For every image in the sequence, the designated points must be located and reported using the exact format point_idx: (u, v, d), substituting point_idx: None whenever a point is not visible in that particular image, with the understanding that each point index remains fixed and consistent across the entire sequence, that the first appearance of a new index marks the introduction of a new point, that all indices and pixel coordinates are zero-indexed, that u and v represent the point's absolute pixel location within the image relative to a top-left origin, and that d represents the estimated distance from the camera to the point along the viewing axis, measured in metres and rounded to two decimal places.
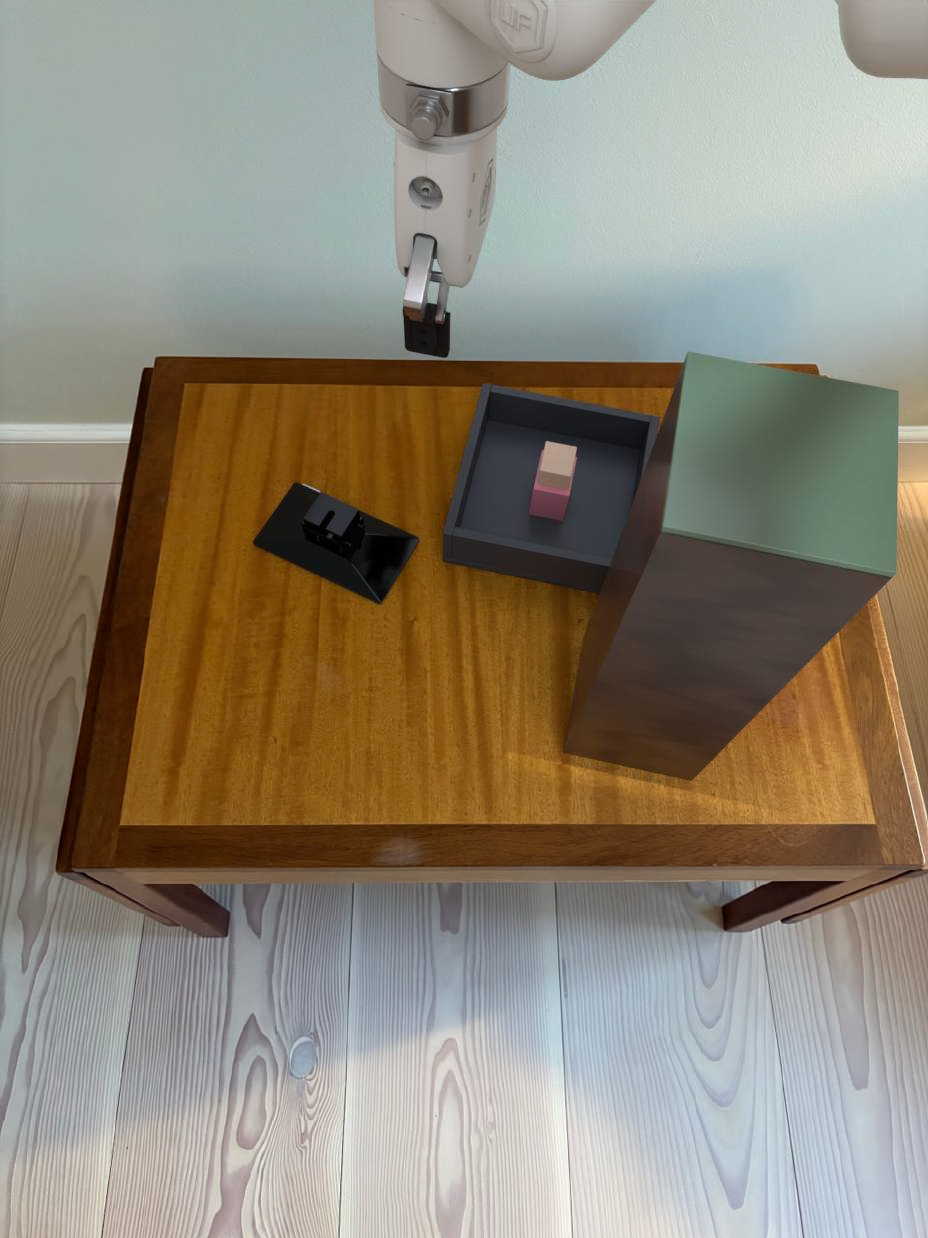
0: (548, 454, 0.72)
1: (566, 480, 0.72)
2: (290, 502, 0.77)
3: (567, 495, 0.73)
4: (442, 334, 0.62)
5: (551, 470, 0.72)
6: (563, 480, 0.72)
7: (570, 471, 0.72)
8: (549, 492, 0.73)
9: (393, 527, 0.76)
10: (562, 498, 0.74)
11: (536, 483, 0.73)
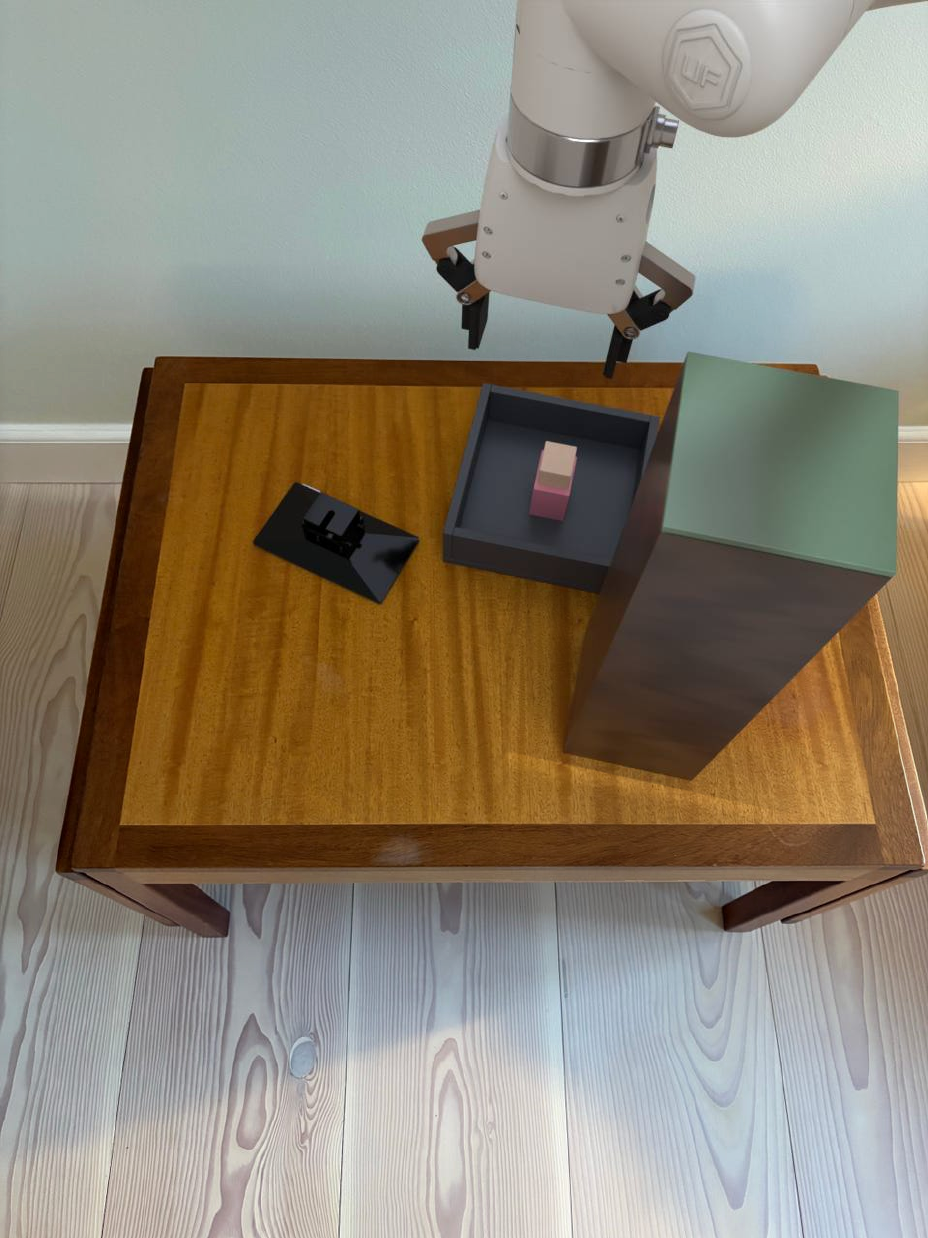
0: (548, 454, 0.72)
1: (566, 480, 0.72)
2: (290, 502, 0.77)
3: (567, 495, 0.73)
4: None
5: (551, 470, 0.72)
6: (563, 480, 0.72)
7: (570, 471, 0.72)
8: (549, 492, 0.73)
9: (393, 527, 0.76)
10: (562, 498, 0.74)
11: (536, 483, 0.73)
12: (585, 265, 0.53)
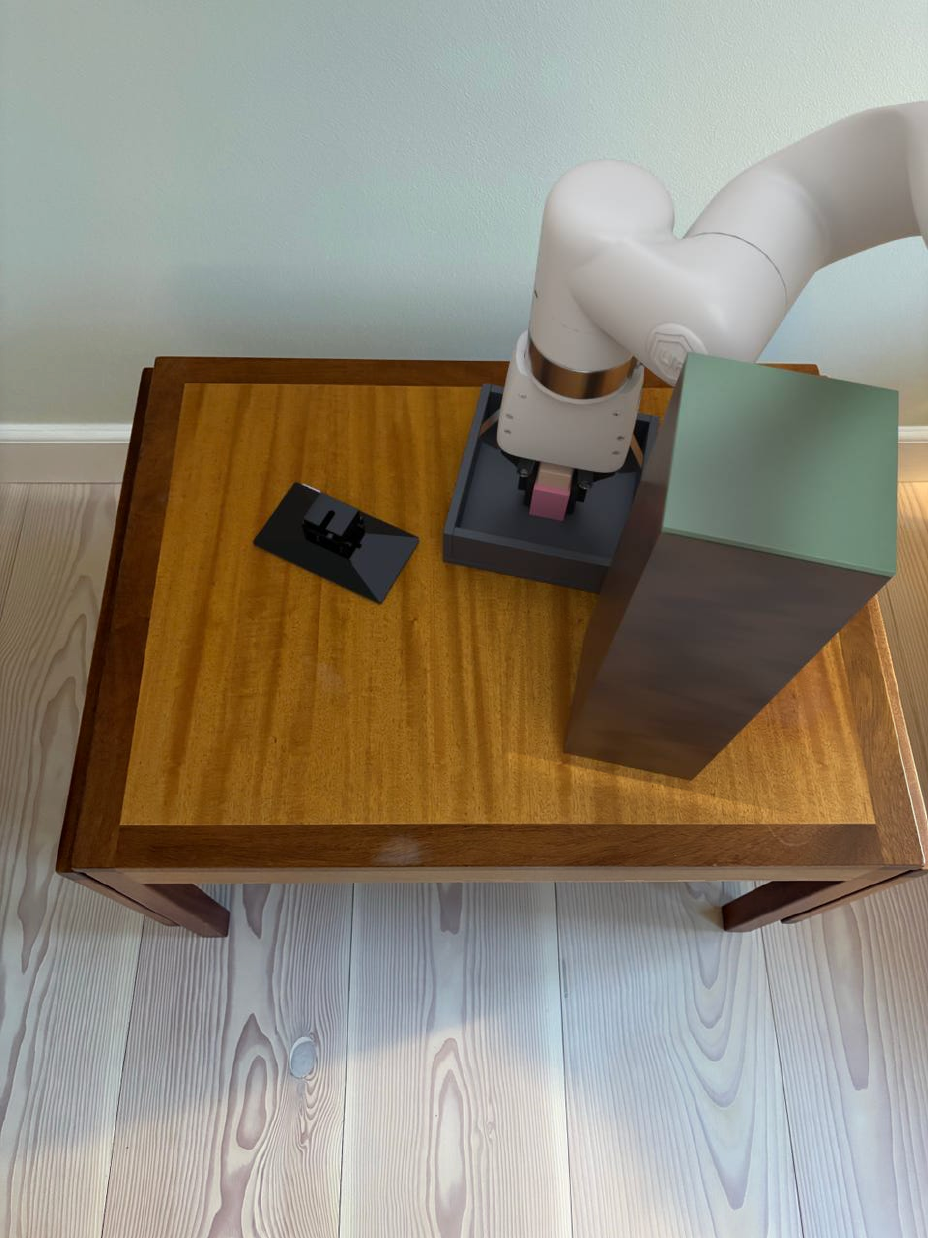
0: None
1: (566, 480, 0.72)
2: (290, 502, 0.77)
3: (567, 495, 0.73)
4: None
5: (551, 470, 0.72)
6: (563, 480, 0.72)
7: (570, 471, 0.72)
8: (549, 492, 0.73)
9: (393, 527, 0.76)
10: (562, 498, 0.74)
11: (536, 483, 0.73)
12: (588, 442, 0.66)
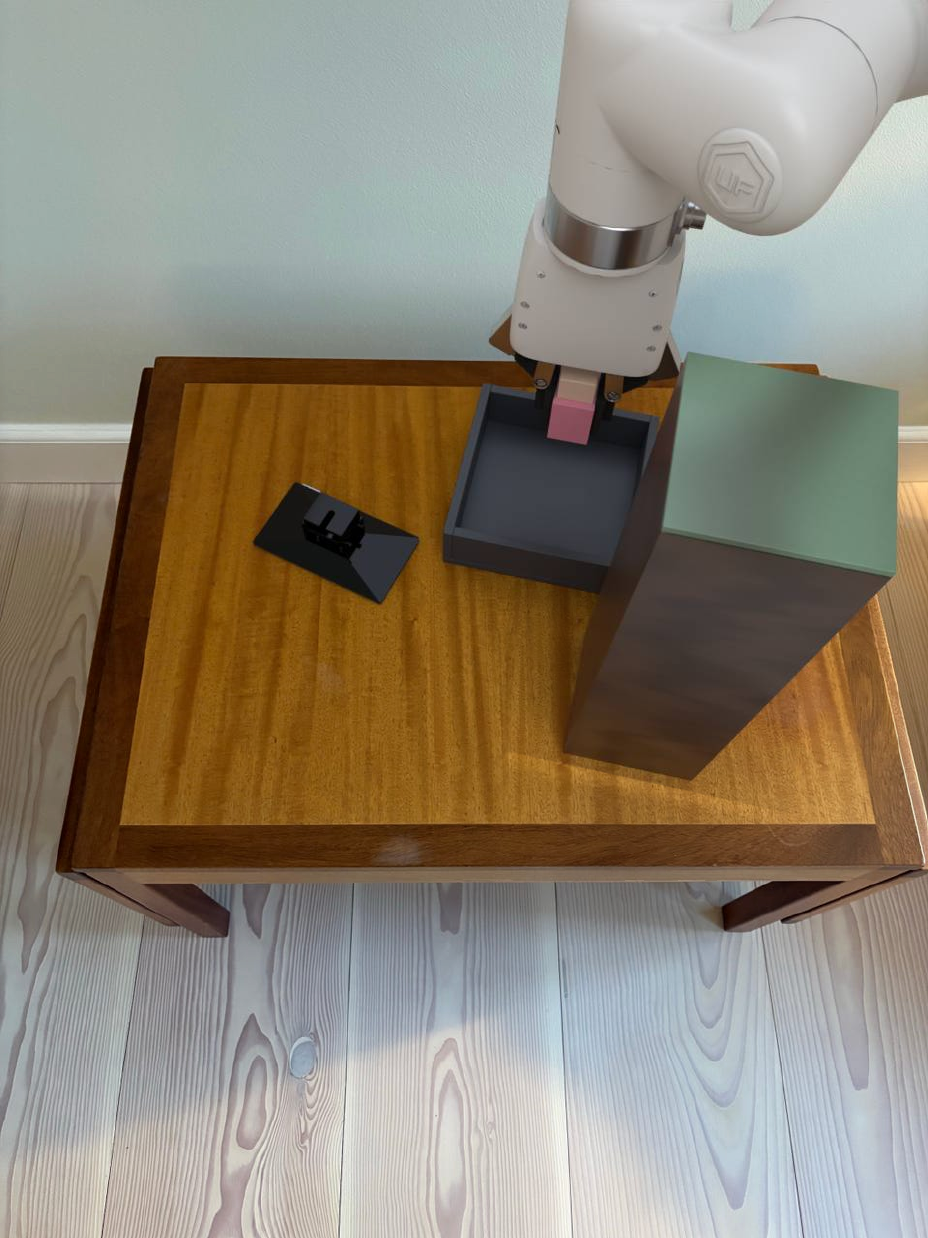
0: None
1: (591, 391, 0.62)
2: (290, 502, 0.77)
3: (592, 410, 0.63)
4: None
5: (574, 379, 0.62)
6: (587, 391, 0.62)
7: (595, 380, 0.62)
8: (570, 406, 0.63)
9: (393, 527, 0.76)
10: (586, 414, 0.63)
11: (555, 397, 0.63)
12: (618, 335, 0.56)
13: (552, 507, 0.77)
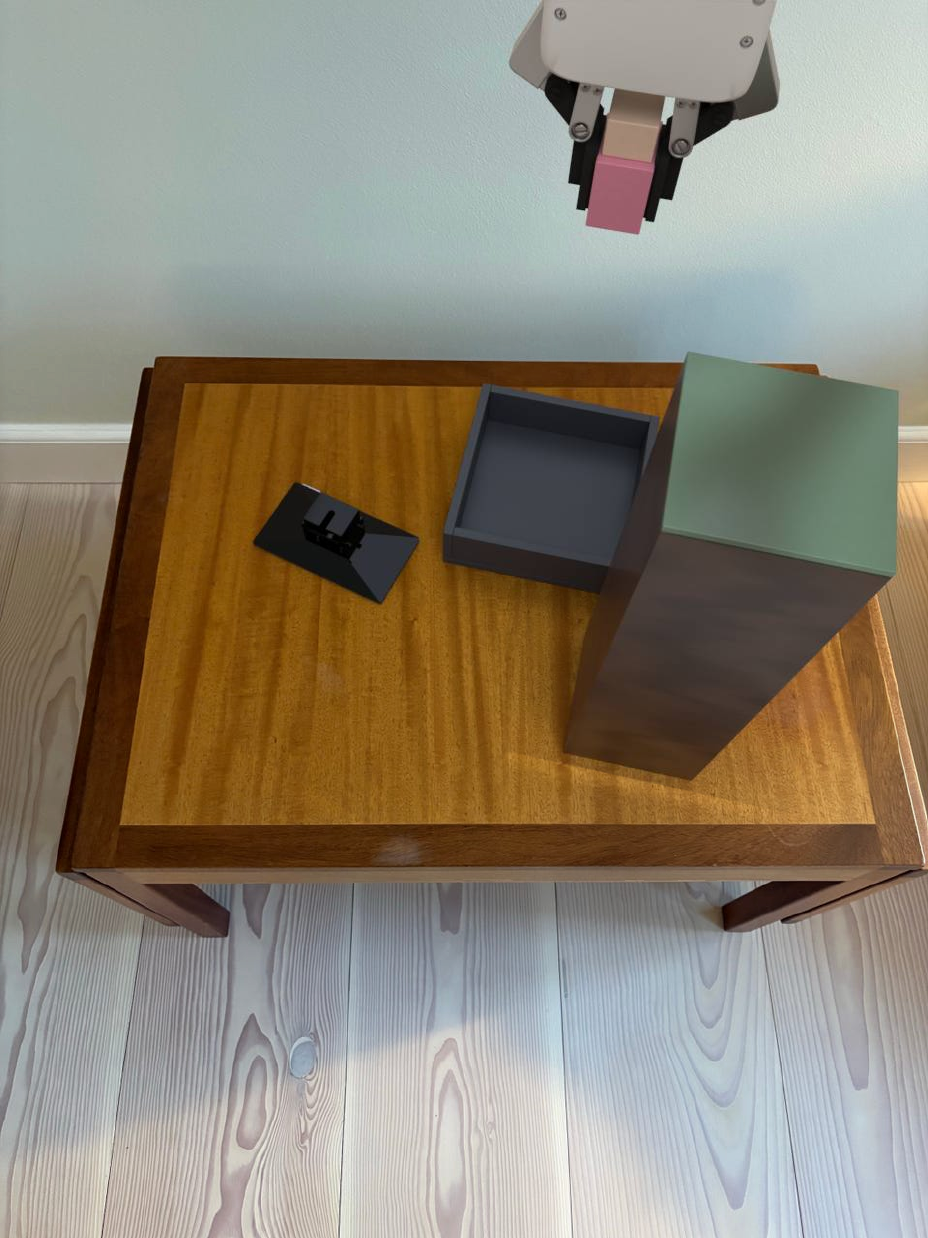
0: (621, 99, 0.45)
1: (650, 139, 0.45)
2: (290, 502, 0.77)
3: (650, 170, 0.46)
4: None
5: (627, 119, 0.44)
6: (645, 139, 0.45)
7: (657, 121, 0.44)
8: (621, 166, 0.46)
9: (393, 527, 0.76)
10: (642, 179, 0.46)
11: (600, 154, 0.46)
12: (700, 15, 0.38)
13: (552, 507, 0.77)
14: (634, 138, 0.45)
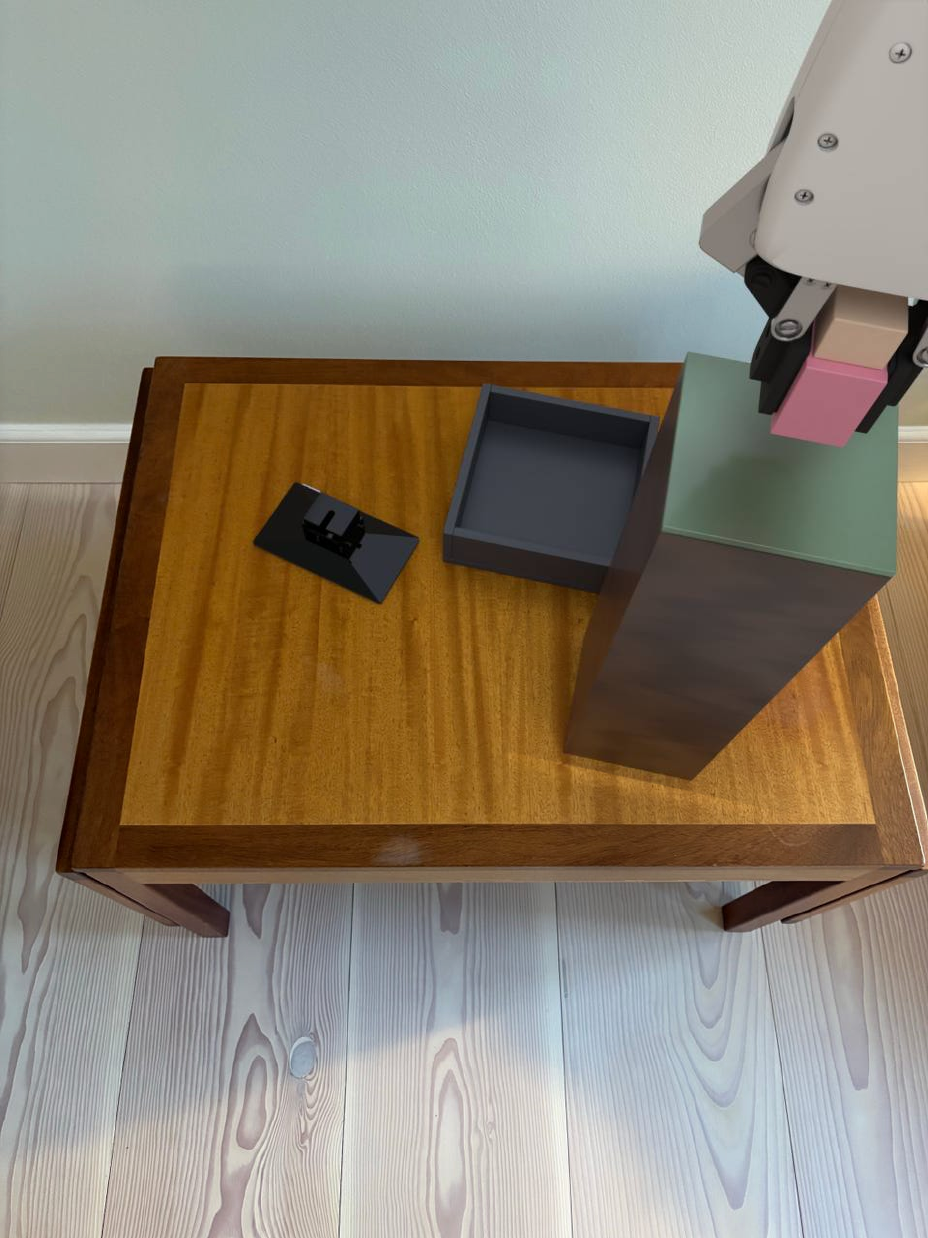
0: (849, 287, 0.32)
1: (891, 344, 0.32)
2: (290, 502, 0.77)
3: (883, 382, 0.33)
4: None
5: (862, 319, 0.31)
6: (883, 344, 0.32)
7: (904, 322, 0.31)
8: (841, 374, 0.33)
9: (393, 527, 0.76)
10: (868, 391, 0.33)
11: (811, 356, 0.33)
12: None
13: (552, 507, 0.77)
14: (867, 342, 0.32)
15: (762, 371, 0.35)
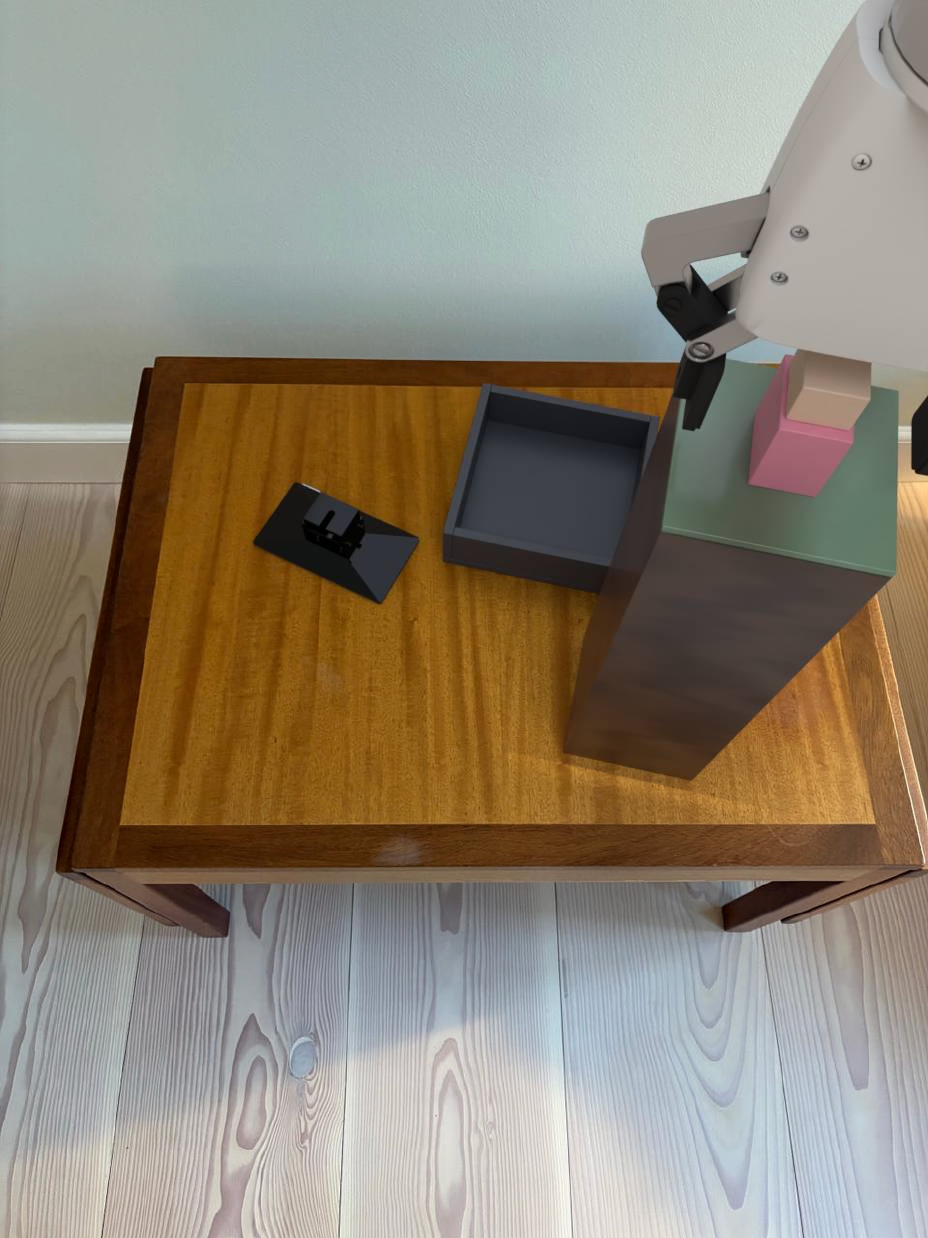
0: (817, 356, 0.35)
1: (856, 409, 0.35)
2: (290, 502, 0.77)
3: (849, 442, 0.36)
4: None
5: (829, 387, 0.34)
6: (849, 409, 0.35)
7: (867, 389, 0.34)
8: (811, 435, 0.36)
9: (393, 527, 0.76)
10: (836, 449, 0.36)
11: (783, 418, 0.36)
12: None
13: (552, 507, 0.77)
14: (834, 407, 0.35)
15: (683, 389, 0.37)
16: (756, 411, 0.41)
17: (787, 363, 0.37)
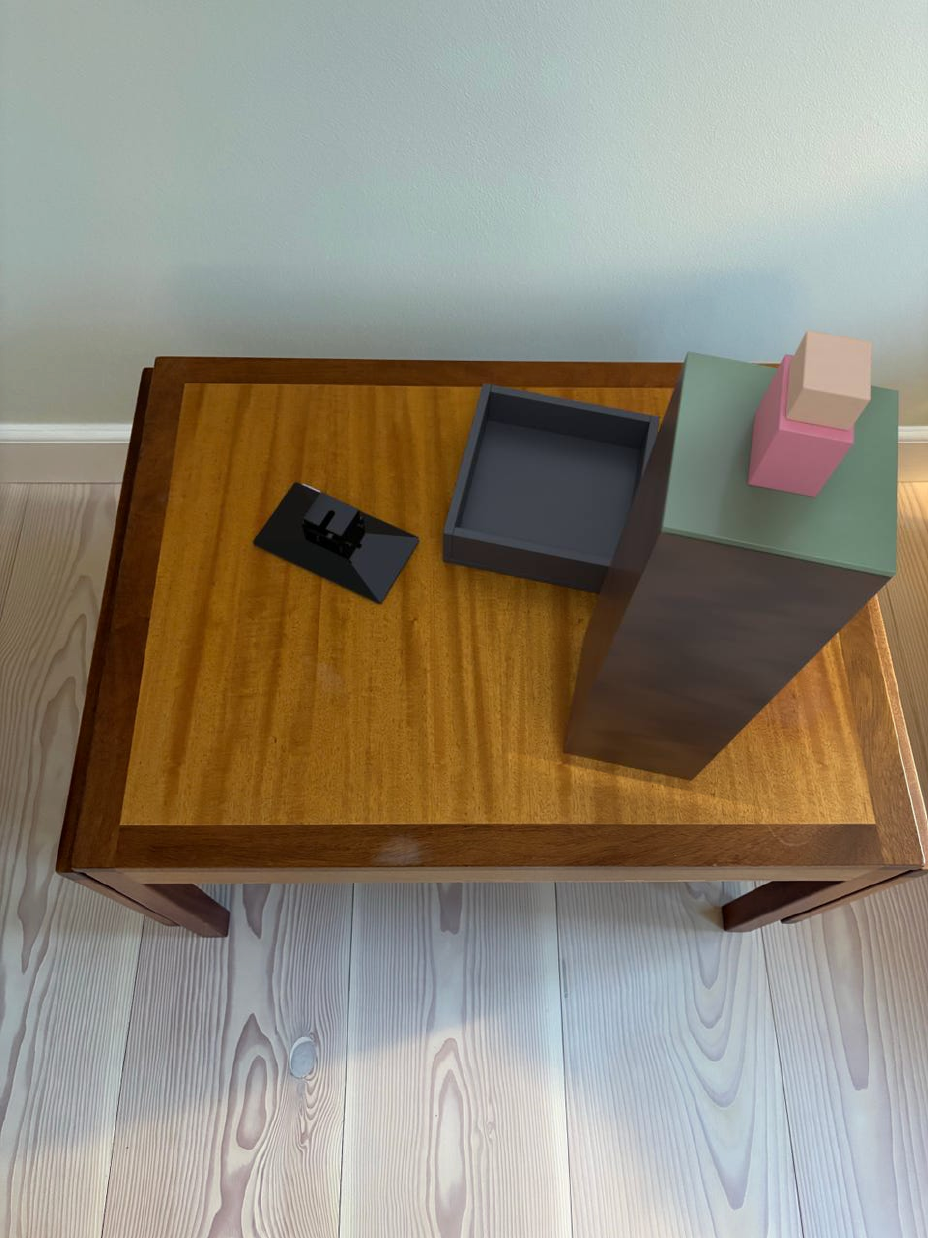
0: (817, 356, 0.35)
1: (856, 409, 0.35)
2: (290, 502, 0.77)
3: (849, 442, 0.36)
4: None
5: (829, 387, 0.34)
6: (849, 409, 0.35)
7: (867, 389, 0.34)
8: (811, 435, 0.36)
9: (393, 527, 0.76)
10: (836, 449, 0.36)
11: (783, 418, 0.36)
12: None
13: (552, 507, 0.77)
14: (834, 407, 0.35)
15: None
16: (756, 411, 0.41)
17: (787, 363, 0.37)
